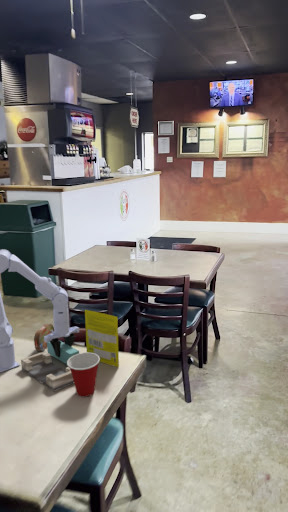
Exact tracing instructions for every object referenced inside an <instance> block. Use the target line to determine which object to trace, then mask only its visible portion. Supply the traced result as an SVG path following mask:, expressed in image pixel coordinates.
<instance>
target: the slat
mask: <svg viewBox="0 0 288 512" xmlns="http://www.w3.org/2000/svg"><path fill="white" fill-rule="evenodd" d="M46 351H47V353H49V354H50V355H51V357H53V358H55V359H57V360H59V361H61V362H62V363H64V364H65V365H67V361H68V359H69V358H71V357H72V356H74V355H76V354H79V353H80V350H78V349H76V347H75V348H74V347H73V346H72V347H71V346H69V345H67V344H65V342H63V341H61V345H60V357H57V356H56V355H55V351H54V349H53V347H52V345H51V343H50V342H48V343H47V348H46Z"/></svg>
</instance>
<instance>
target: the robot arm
mask: <svg viewBox="0 0 288 512" xmlns="http://www.w3.org/2000/svg"><path fill="white" fill-rule="evenodd" d="M7 269H8V271H7V272H9V273H10V272H13V273H15V272H17V273H18V274H20V276H22V277H24V278H25V279H27V280H28V281H30V282H31V283H33V284H34V288H35V290H36V291H37V292H39V294H41V295H43V296H44V297H45V298H46V299H48V300H50V301H51V304H52V305H53V309H52V315H53V316H52V317H53V327H54V332H52V333H50V334H49V335H47V336H44V341H45V342H46V343H48V342H50V343H51V345H52V347H53V349H54V351H55V355H56V356H57V357H60V345H61V342H62V341H61V340H60V339H59V338H63V339H64V343H65V344H67V345H69V346H71V347H73V343H74V341H75V339H76V334H75V333H80V327H78V326H72V327H70V317H69V316H70V314H69V312H70V311H69V305H68V303H69V298H68V297H69V294H68V291H66V289H65V288H62V287H61V286H58V285H57V284H55V283H54V281H52V278H50V277H46V276H40V275H39V274H37V273H36V272H35V271H34V270H33V269H32V268H30V266H28V265H27V264H26V263H24V261H22V260H21V259H20V258H19V257H18V256H16V255H15V254H12V253H11V252H10V251H9V250H7V249H5V248H4V249H3V248H2V249H0V274H2V273H4V272H5V271H6V270H7ZM1 292H2V291H0V373H2V372H6V371H9V370H12V369H14V368H16V367H19V366H21V365H20V363H19V362H17V361H16V356H15V345H14V344H15V343H14V340H13V338H12V336H13V333H14V328H13V326H12V325H11V323H9V319H8V318H7V314H6V309H5V307H4V301H3V297H2V293H1Z"/></svg>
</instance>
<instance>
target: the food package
mask: <svg viewBox="0 0 288 512" xmlns="http://www.w3.org/2000/svg"><path fill="white" fill-rule="evenodd" d="M84 318H85V320H84V321H85V322H84V323H85V325H84V326H85V341H86V343H85V344H86V347H85V348H86V353H94V354H97V355H98V356H99V358H100V361H99V363H103V364H107V365H109V366H113V367H117V368H119V367H120V364H119V363H120V361H119V358H120V357H119V327H118V325H119V324H118V322H119V321H118V320H119V318H118V316H115V315H111V314H107V313H104V312H103V313H102V312H98V311H93V310H88V309H84Z"/></svg>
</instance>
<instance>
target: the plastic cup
mask: <svg viewBox="0 0 288 512" xmlns="http://www.w3.org/2000/svg"><path fill="white" fill-rule="evenodd" d="M99 361H100V358H99V356H98V355H97V354H94V353H87V351H86V352H79V354H76V355H74V356H72V357H71V358H69V359H68V361H67V364H66V366H67V367H69V368H70V370H71V372H72V377H73V381H74V383H73V384H74V387H75V392H76V395H77V396H79V397H84V398H85V397H90V396H92V395H93V394H94V393H95V389H96V382H97V376H98V375H97V373H98V368H99V363H100V362H99Z"/></svg>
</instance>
